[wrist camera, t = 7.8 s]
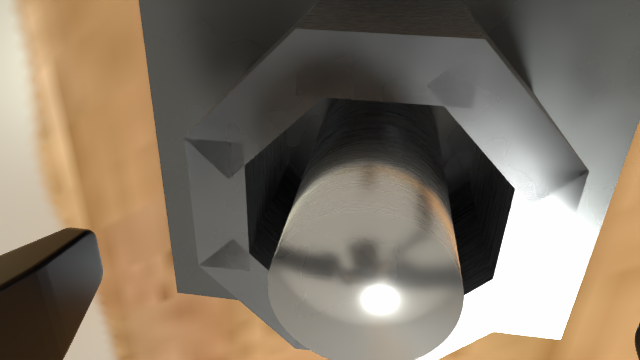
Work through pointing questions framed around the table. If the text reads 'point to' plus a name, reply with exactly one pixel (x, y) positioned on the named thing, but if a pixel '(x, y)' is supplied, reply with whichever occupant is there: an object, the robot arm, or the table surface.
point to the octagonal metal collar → (399, 87)
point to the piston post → (391, 167)
